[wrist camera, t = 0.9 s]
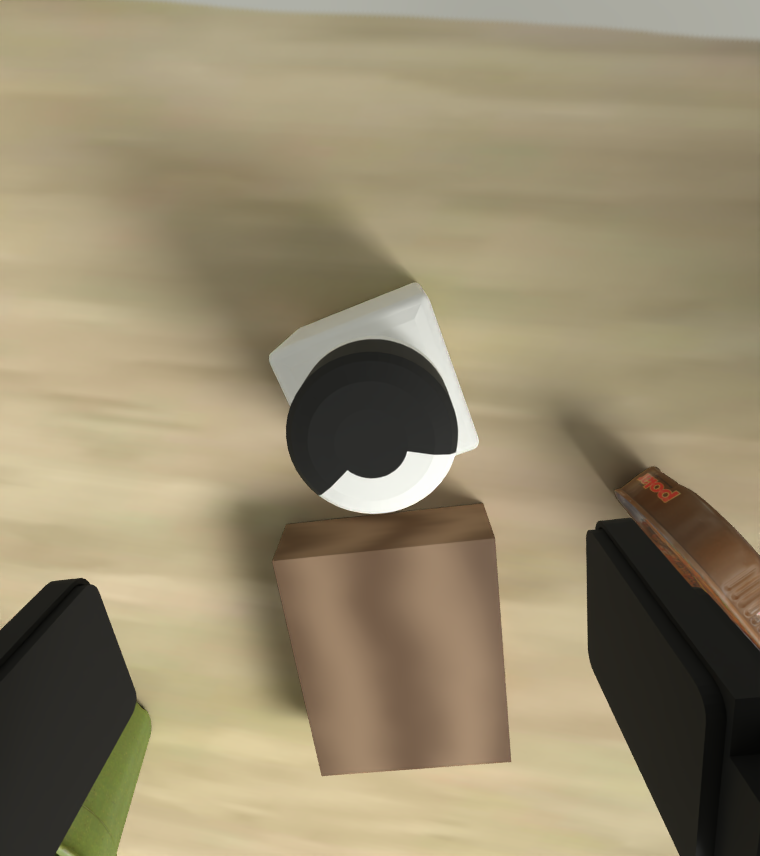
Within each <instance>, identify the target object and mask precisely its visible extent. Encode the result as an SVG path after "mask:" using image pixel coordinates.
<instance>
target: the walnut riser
mask: <svg viewBox="0 0 760 856" xmlns="http://www.w3.org/2000/svg"><path fill="white" fill-rule="evenodd" d="M272 563H273V567H274V571H275V576H276V580H277V584H278V589H279V593H280V597H281V602H282V606H283V610H284V615H285V619H286V623H287V628H288V632H289V636H290V641H291V645H292V649H293V654H294V658H295V662H296V667H297V671H298V675H299V680H300V684H301V688H302V693H303V697H304V701H305V706H306V710H307V714H308V719H309V723H310V727H311V732H312V736H313V740H314V745H315V749H316V753H317V758H318V762H319V766H320V771H321V775H322V776H328V775H342V774H355V773H369V772H382V771H395V770H409V769H422V768H435V767H449V766H462V765H476V764H489V763H502V762H511V753H510V739H509V725H508V711H507V697H506V684H505V670H504V656H503V642H502V628H501V614H500V601H499V587H498V573H497V559H496V545H495V537H494V534H493V531H492V528H491V525H490V522H489V519H488V516H487V513H486V511H485V508H484V505H483V503H480V504H471V505H462V506H452V507H443V508H434V509H424V510H415V511H406V512H396V513H387V514H378V515H368V516H359V517H350V518H340V519H331V520H322V521H312V522H303V523H294V524H286V526H285V529H284V532H283V534H282V537H281V539H280V542H279V545H278V547H277V550H276V552H275V555H274V558H273V560H272Z"/></svg>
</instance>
